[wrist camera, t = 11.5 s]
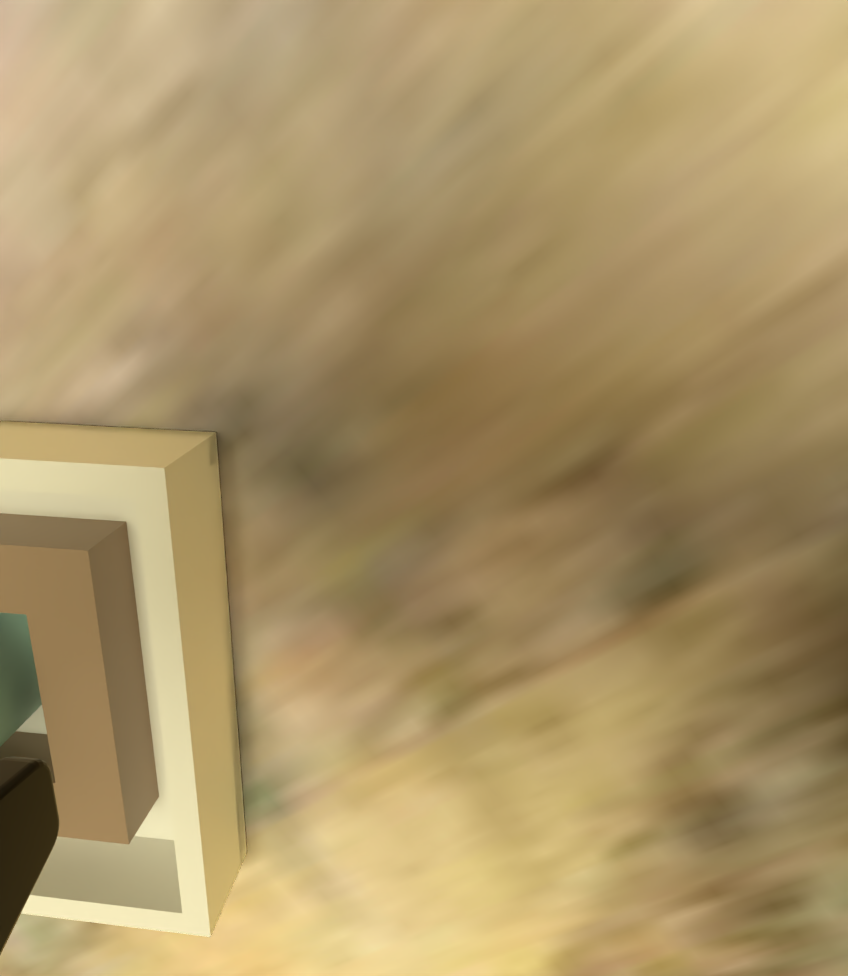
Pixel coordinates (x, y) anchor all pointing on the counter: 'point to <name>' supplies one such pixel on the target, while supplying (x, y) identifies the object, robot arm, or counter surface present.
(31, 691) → the pale green peg
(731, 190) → the counter surface
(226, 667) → the tray box
